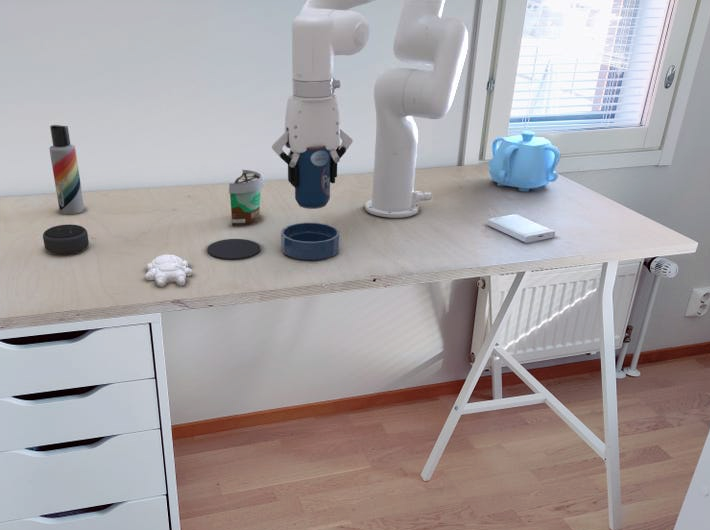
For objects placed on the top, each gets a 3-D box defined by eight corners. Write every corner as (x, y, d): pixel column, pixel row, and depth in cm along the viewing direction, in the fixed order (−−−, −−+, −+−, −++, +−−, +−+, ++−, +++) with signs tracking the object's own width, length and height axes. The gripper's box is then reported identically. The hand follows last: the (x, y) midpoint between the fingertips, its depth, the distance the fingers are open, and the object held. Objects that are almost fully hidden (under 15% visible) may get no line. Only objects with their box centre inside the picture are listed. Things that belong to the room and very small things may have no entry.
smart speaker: (68, 259, 143) (64, 241, 141) (36, 251, 147) (32, 233, 145) (98, 245, 150) (95, 227, 148) (67, 238, 153) (64, 220, 151)
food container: (257, 230, 158) (256, 185, 153) (230, 228, 159) (228, 184, 154) (269, 212, 168) (269, 170, 163) (244, 210, 169) (243, 168, 164)
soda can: (331, 209, 140) (332, 147, 134) (296, 210, 140) (296, 149, 133) (327, 198, 146) (328, 138, 140) (293, 199, 146) (293, 139, 139)
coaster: (252, 238, 153) (252, 236, 153) (266, 256, 144) (266, 254, 144) (202, 243, 151) (202, 241, 150) (213, 262, 142) (213, 260, 141)
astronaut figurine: (144, 288, 131) (142, 273, 129) (148, 263, 141) (146, 249, 140) (192, 286, 132) (191, 271, 130) (192, 261, 142) (191, 247, 140)
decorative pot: (490, 192, 182) (498, 138, 175) (485, 174, 196) (492, 124, 189) (556, 195, 180) (566, 141, 173) (546, 177, 193) (556, 126, 186)
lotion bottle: (54, 213, 168) (39, 126, 158) (69, 206, 172) (56, 121, 162) (74, 216, 166) (61, 128, 156) (89, 208, 171) (76, 123, 161)
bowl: (327, 237, 154) (327, 220, 152) (346, 257, 144) (347, 238, 142) (274, 243, 151) (274, 225, 149) (291, 264, 141) (291, 245, 139)
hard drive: (487, 218, 159) (526, 236, 150) (516, 213, 163) (555, 230, 153) (486, 226, 160) (525, 243, 151) (515, 220, 163) (554, 237, 154)
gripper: (349, 82, 136) (346, 173, 146) (262, 88, 132) (265, 182, 141) (364, 89, 130) (360, 184, 140) (273, 96, 126) (275, 193, 135)
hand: (312, 182), depth 140 cm, fingers closed on soda can, 7 cm apart
